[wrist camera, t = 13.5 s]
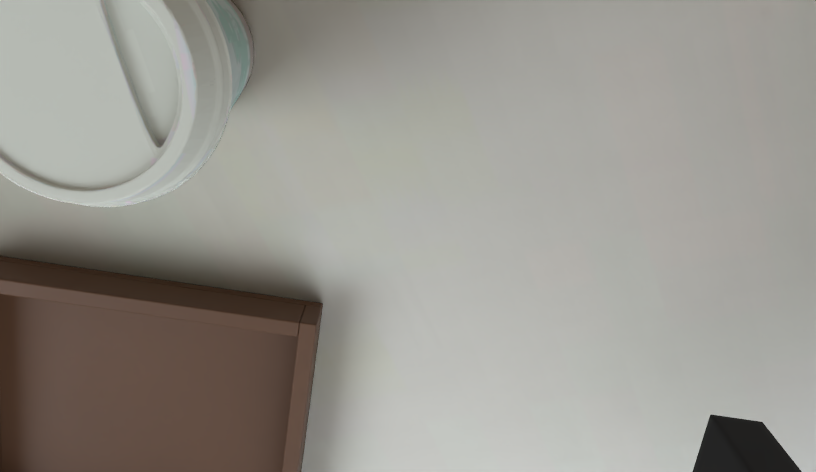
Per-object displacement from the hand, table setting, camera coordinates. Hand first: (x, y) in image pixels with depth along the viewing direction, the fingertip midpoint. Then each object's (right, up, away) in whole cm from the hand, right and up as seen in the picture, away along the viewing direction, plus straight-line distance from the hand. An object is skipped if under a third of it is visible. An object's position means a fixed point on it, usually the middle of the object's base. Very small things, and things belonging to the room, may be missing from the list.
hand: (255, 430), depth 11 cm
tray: (-11, -6, +28) cm, 30 cm away
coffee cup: (-7, +11, +22) cm, 26 cm away
